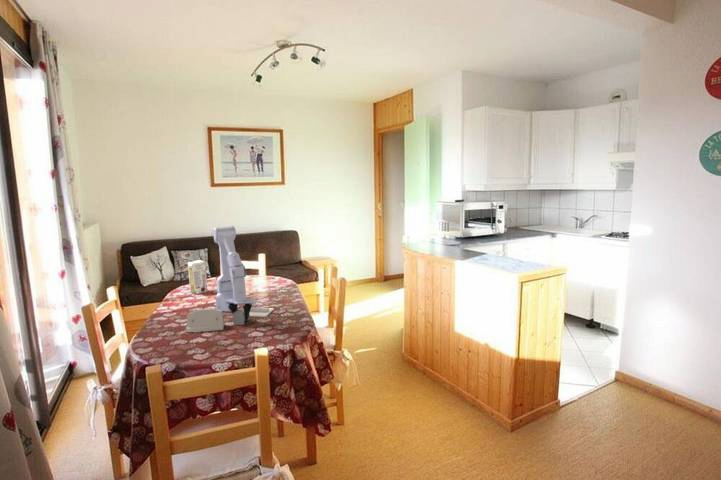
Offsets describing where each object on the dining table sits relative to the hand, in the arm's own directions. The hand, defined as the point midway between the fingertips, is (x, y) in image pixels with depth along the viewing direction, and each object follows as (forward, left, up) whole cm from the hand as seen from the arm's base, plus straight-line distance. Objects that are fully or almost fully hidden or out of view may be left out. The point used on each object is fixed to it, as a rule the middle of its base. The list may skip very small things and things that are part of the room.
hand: (241, 318), depth 193 cm
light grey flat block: (-13, -9, -2) cm, 16 cm away
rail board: (+2, +13, -2) cm, 13 cm away
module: (0, 0, -2) cm, 2 cm away
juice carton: (-49, +45, -2) cm, 67 cm away
